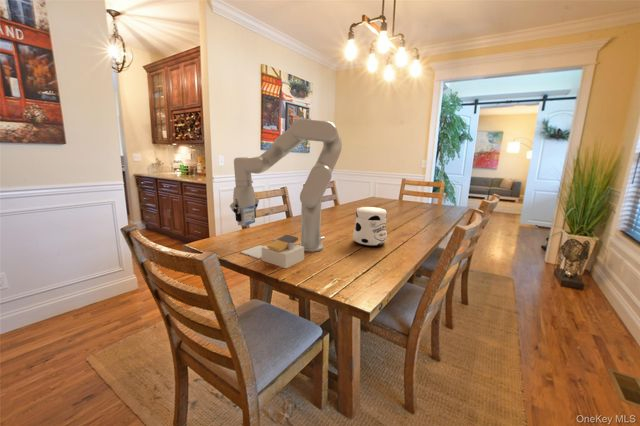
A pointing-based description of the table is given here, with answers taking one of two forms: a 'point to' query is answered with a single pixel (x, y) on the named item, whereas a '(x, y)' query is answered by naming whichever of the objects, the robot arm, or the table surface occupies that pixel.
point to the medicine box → (247, 216)
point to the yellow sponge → (282, 242)
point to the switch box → (283, 255)
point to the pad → (254, 252)
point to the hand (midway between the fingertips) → (246, 219)
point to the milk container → (370, 226)
